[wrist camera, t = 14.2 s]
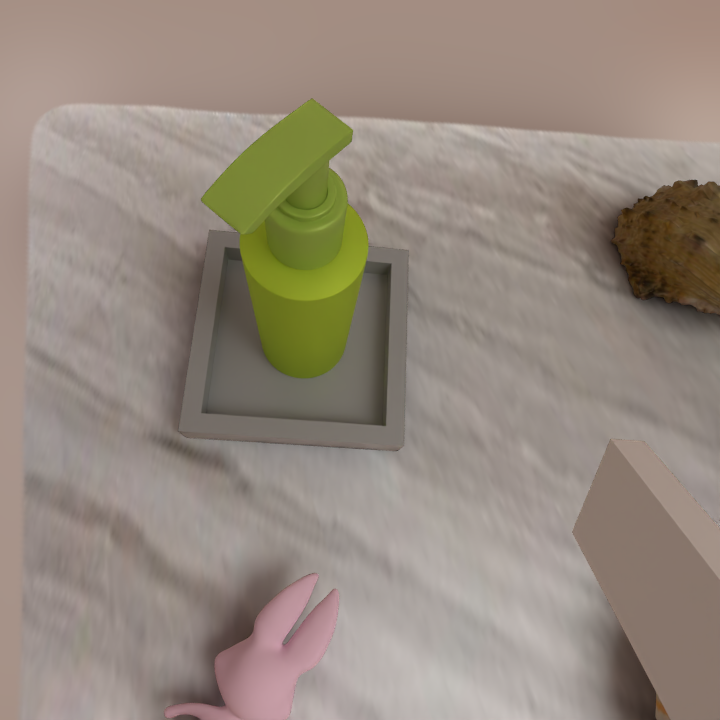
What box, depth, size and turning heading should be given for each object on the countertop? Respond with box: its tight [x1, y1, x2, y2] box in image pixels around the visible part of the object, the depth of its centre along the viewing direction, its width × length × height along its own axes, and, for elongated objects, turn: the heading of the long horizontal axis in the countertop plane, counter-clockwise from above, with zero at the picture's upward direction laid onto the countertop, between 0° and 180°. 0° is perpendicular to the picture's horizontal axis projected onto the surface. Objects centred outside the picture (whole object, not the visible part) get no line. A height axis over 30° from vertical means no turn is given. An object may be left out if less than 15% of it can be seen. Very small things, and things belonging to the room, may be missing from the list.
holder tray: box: [178, 230, 409, 451], centre depth 35 cm, size 14×14×3 cm
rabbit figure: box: [164, 573, 339, 720], centre depth 28 cm, size 6×6×15 cm
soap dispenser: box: [201, 99, 368, 378], centre depth 26 cm, size 6×7×20 cm
